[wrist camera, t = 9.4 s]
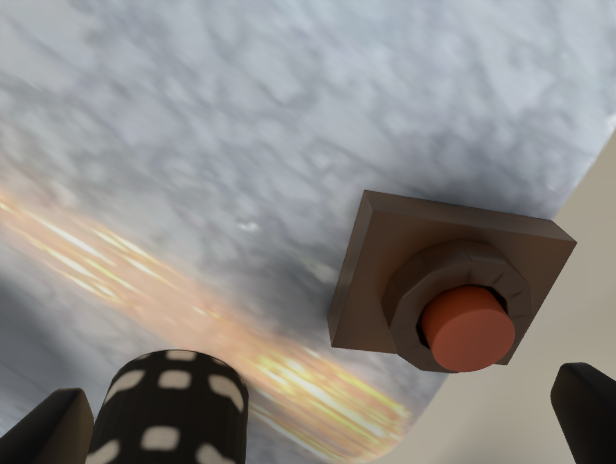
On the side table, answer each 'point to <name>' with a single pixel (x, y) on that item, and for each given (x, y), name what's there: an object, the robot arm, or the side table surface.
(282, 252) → the side table surface
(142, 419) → the spotted black cylinder
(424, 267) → the button block
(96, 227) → the side table surface
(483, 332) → the button
